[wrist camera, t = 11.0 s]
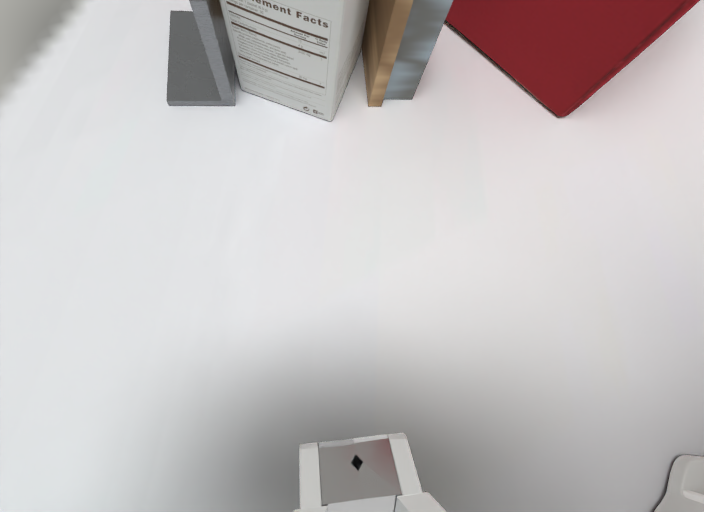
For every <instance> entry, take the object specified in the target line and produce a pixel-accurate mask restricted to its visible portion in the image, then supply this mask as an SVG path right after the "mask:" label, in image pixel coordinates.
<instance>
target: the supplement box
mask: <svg viewBox="0 0 704 512" xmlns="http://www.w3.org/2000/svg"><path fill="white" fill-rule="evenodd" d="M220 4H221V8H222V13H223V17H224V21H225V25H226V29H227V33H228V38H229V41H230V46H231V50H232V54H233V58H234V62H235V66H236V70H237V74H238V78H239V83H240V87H241V89H242V90H244V91H246V92H249V93H252V94H255V95H257V96H260V97H263V98H266V99H268V100H271V101H274V102H277V103H279V104H282V105H285V106H288V107H291V108H293V109H296V110H299V111H302V112H305V113H308V114H310V115H313V116H316V117H319V118H322V119H324V120H327V121H332V120H333V118H334V115H335V113H336V110H337V108H338V105H339V103H340V101H341V98H342V96H343V93H344V91H345V89H346V86H347V84H348V81H349V79H350V76H351V74H352V71H353V69H354V66H355V64H356V61H357V59H358V56H359V54H360V51H361V46H362V41H363V35H364V29H365V23H366V18H367V12H368V6H369V0H220Z"/></svg>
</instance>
